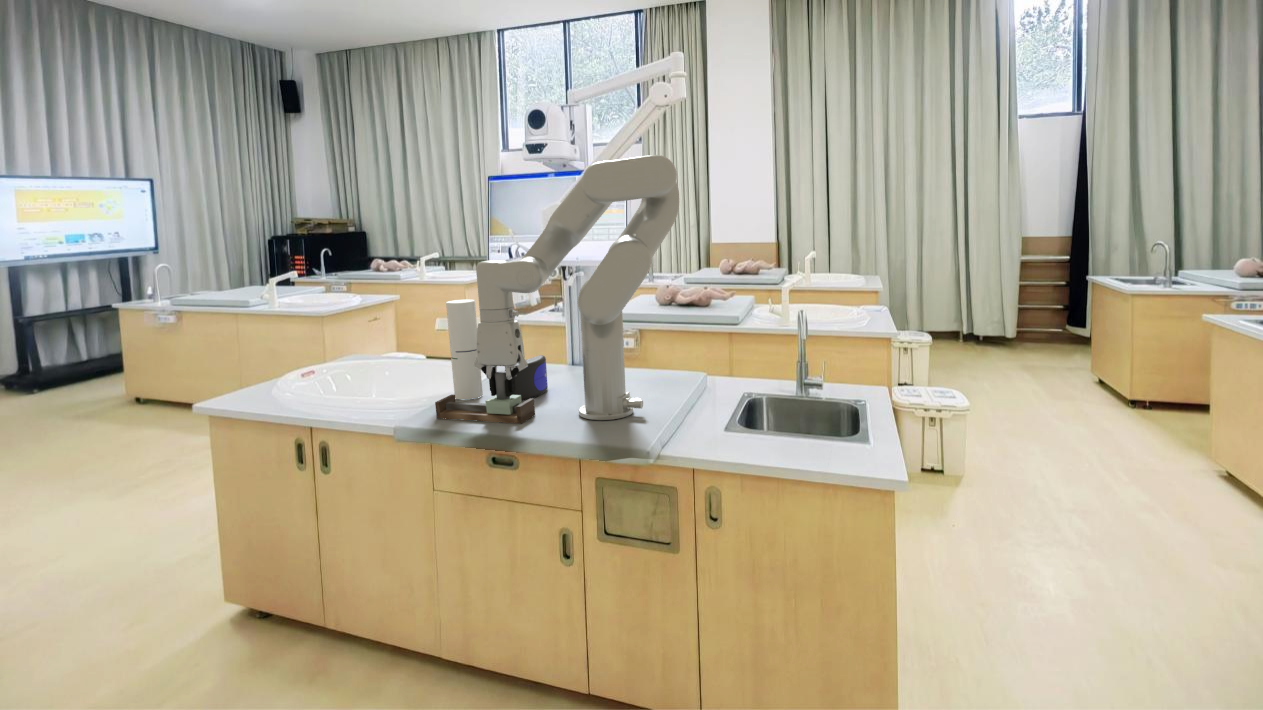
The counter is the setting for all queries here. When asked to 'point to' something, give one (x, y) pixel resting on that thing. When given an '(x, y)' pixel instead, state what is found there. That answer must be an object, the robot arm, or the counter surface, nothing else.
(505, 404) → the carriage
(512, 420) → the board
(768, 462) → the counter surface
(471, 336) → the cylindrical container
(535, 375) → the black curved block
